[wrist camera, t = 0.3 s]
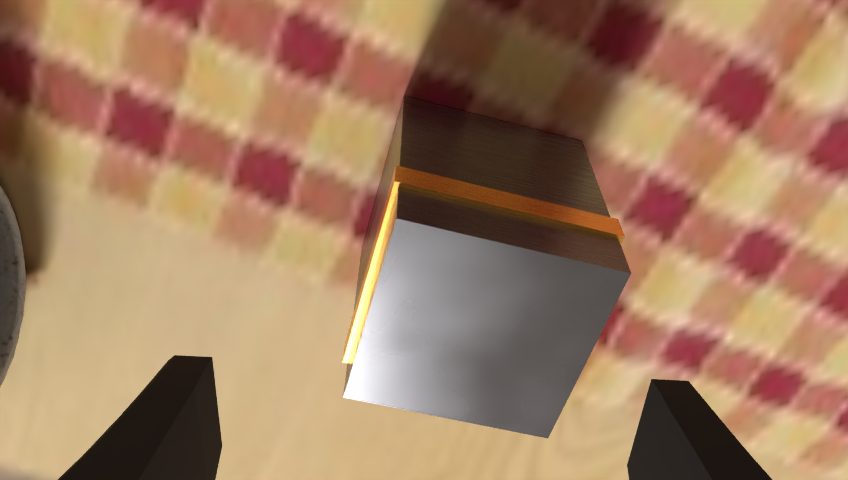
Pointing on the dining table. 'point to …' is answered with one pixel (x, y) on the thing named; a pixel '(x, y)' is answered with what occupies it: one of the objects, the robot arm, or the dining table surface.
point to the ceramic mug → (10, 283)
